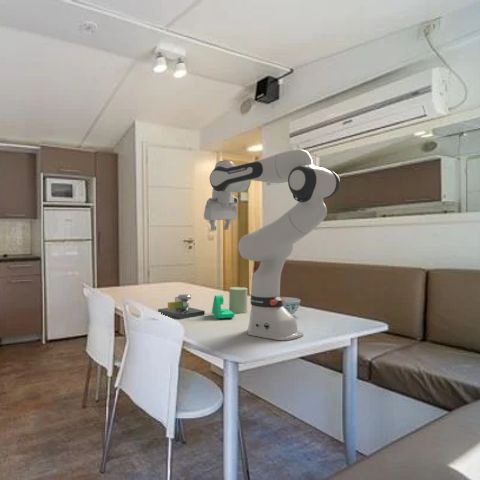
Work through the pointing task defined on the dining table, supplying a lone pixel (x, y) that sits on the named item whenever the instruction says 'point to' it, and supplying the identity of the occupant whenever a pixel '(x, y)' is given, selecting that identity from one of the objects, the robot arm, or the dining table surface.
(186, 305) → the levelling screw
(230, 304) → the can
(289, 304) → the chinaware
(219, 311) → the camera mount
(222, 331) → the dining table surface
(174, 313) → the base
